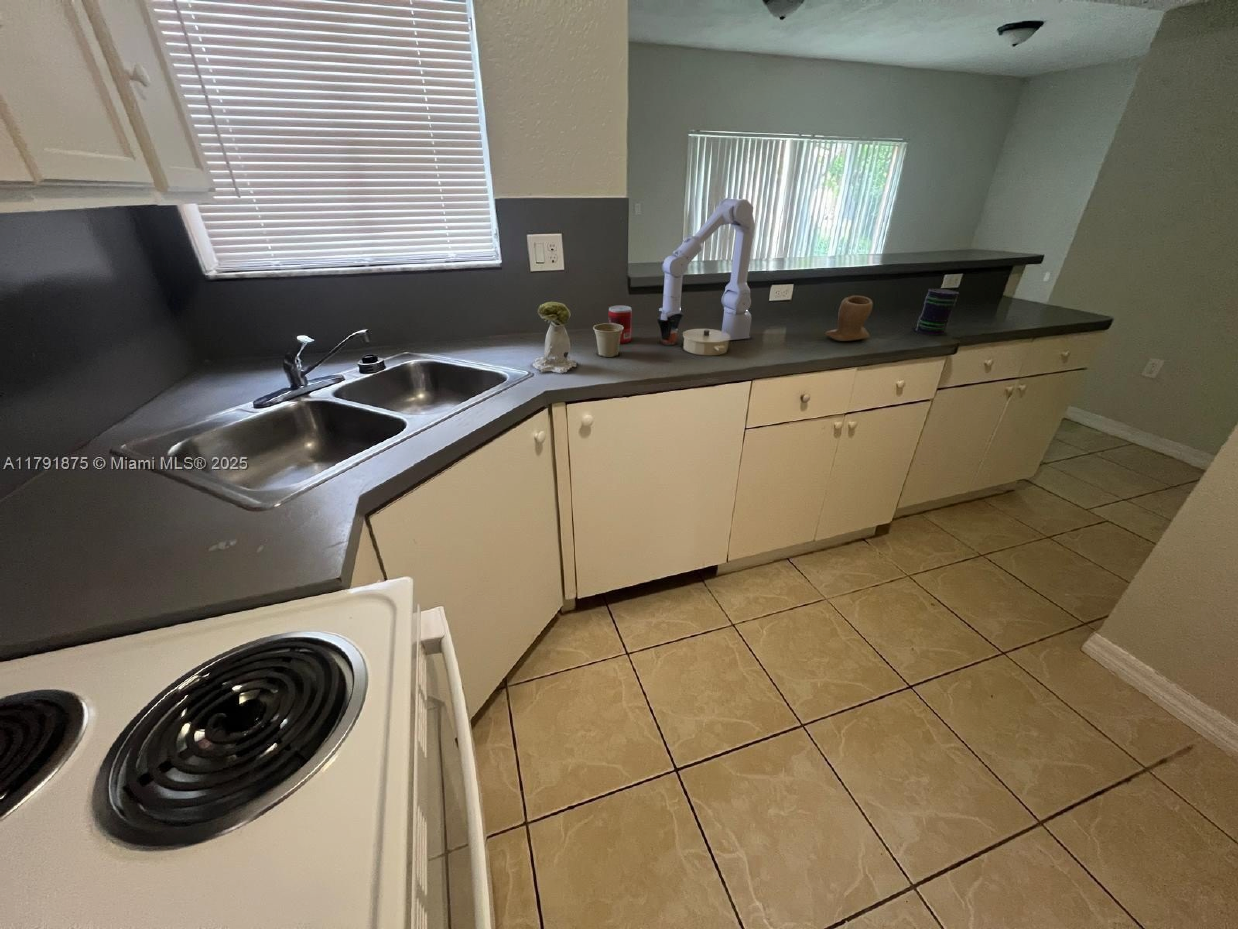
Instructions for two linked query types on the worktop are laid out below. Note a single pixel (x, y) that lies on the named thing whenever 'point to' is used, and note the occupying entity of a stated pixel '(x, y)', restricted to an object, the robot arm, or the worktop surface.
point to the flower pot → (608, 338)
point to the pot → (705, 347)
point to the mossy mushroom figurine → (555, 339)
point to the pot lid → (706, 336)
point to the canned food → (621, 320)
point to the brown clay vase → (852, 319)
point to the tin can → (671, 337)
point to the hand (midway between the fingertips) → (669, 337)
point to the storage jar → (936, 311)
